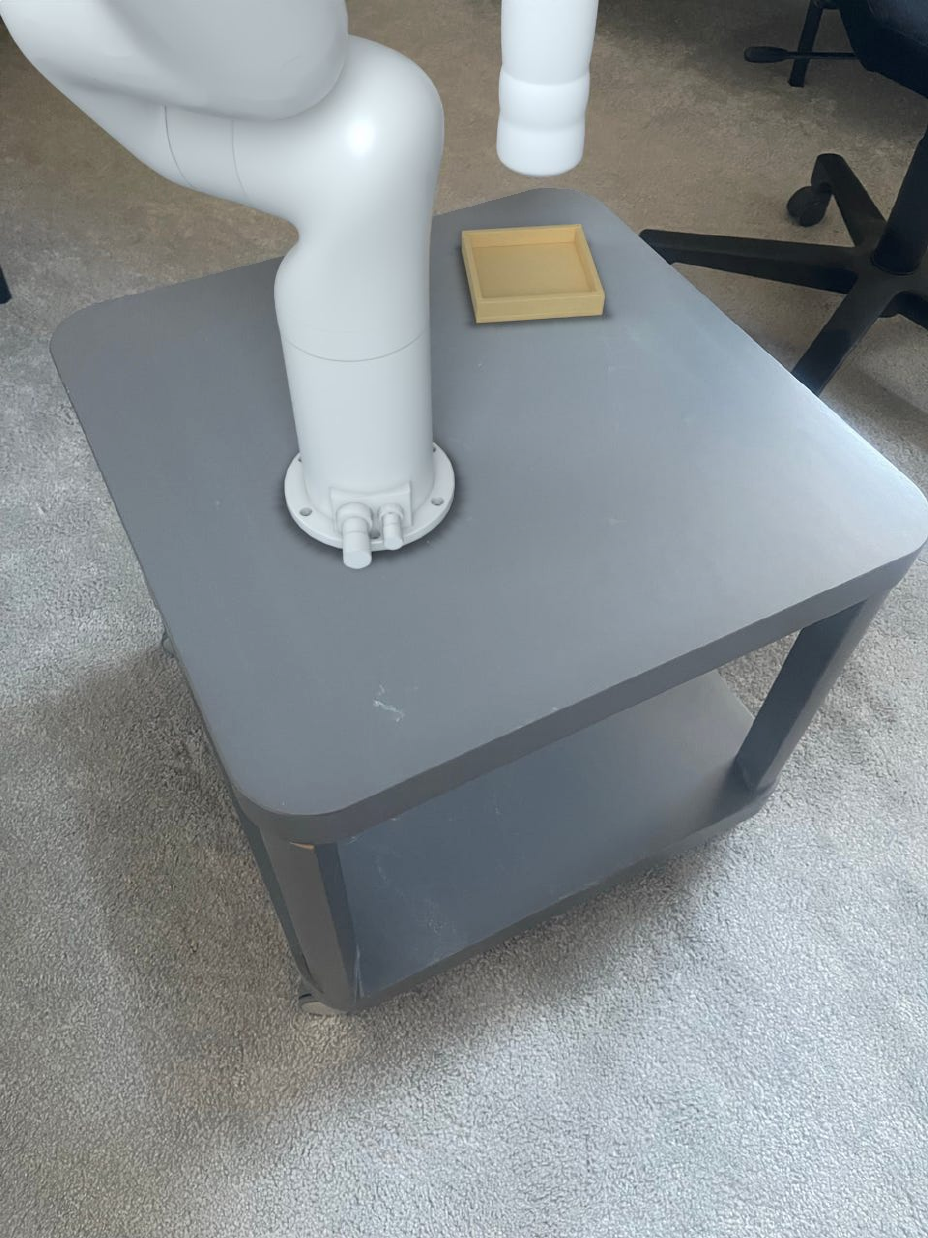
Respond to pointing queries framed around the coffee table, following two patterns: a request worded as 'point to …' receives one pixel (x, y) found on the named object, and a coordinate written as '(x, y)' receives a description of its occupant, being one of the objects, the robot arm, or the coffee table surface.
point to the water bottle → (544, 84)
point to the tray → (531, 273)
